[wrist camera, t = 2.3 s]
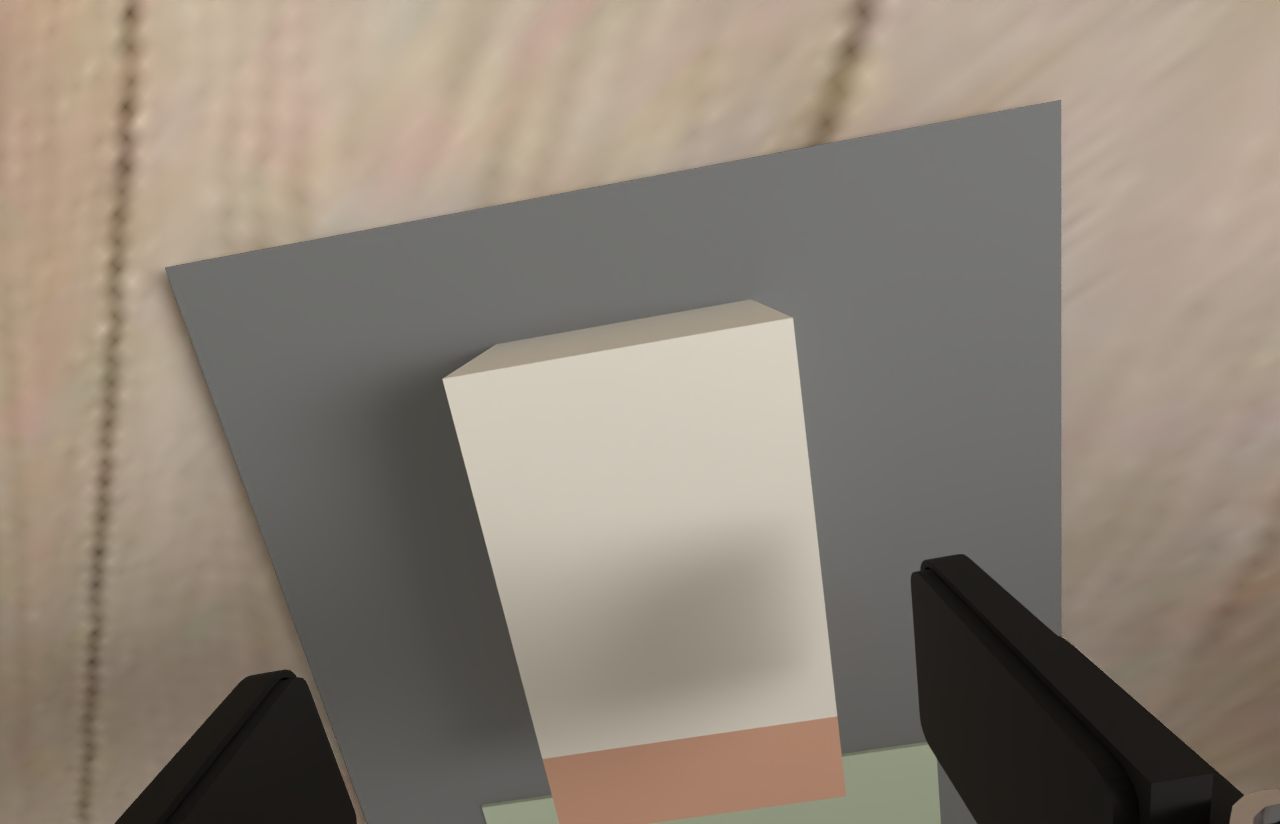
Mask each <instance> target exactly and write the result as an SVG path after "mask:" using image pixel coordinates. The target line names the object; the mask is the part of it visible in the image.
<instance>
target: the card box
mask: <svg viewBox="0 0 1280 824" xmlns="http://www.w3.org/2000/svg"><path fill="white" fill-rule="evenodd" d="M442 380H443V383H444V387H445V391H446V395H447V399H448V402H449V406H450V410H451V414H452V418H453V421H454V425H455V429H456V433H457V437H458V440H459V444H460V448H461V452H462V456H463V459H464V463H465V467H466V471H467V475H468V478H469V482H470V486H471V490H472V493H473V497H474V501H475V505H476V509H477V512H478V516H479V520H480V524H481V528H482V531H483V535H484V539H485V543H486V547H487V550H488V554H489V558H490V562H491V566H492V569H493V573H494V577H495V581H496V585H497V588H498V592H499V596H500V600H501V604H502V607H503V611H504V615H505V619H506V623H507V626H508V630H509V634H510V638H511V642H512V645H513V649H514V653H515V657H516V661H517V664H518V668H519V672H520V676H521V680H522V683H523V687H524V691H525V695H526V699H527V702H528V706H529V710H530V714H531V718H532V721H533V725H534V729H535V733H536V737H537V740H538V744H539V748H540V752H541V756H542V759H543V763H544V767H545V771H546V775H547V778H548V782H549V786H550V790H551V794H552V797H553V801H554V805H555V809H556V813H557V816H558V820H559V824H650V823H657V822H664V821H671V820H678V819H686V818H693V817H700V816H707V815H715V814H722V813H729V812H736V811H743V810H751V809H758V808H765V807H772V806H780V805H787V804H794V803H801V802H808V801H816V800H823V799H830V798H837V797H845V796H846V790H845V781H844V772H843V763H842V754H841V745H840V736H839V727H838V718H837V709H836V700H835V691H834V682H833V673H832V664H831V655H830V646H829V637H828V628H827V619H826V610H825V601H824V592H823V583H822V574H821V565H820V556H819V547H818V538H817V529H816V520H815V511H814V502H813V493H812V484H811V475H810V466H809V457H808V448H807V439H806V430H805V421H804V412H803V403H802V394H801V385H800V376H799V367H798V358H797V349H796V340H795V331H794V322H793V317H790V316H788V315H786V314H784V313H781V312H779V311H777V310H774V309H772V308H770V307H768V306H765V305H763V304H761V303H758V302H756V301H754V300H751V299H750V300H744V301H738V302H733V303H727V304H721V305H716V306H710V307H704V308H699V309H693V310H687V311H682V312H676V313H670V314H665V315H659V316H653V317H648V318H642V319H636V320H631V321H625V322H619V323H614V324H608V325H602V326H597V327H591V328H585V329H580V330H574V331H569V332H563V333H557V334H552V335H546V336H540V337H535V338H529V339H523V340H518V341H512V342H506V343H501V344H496V345H494V346H493V347H491V348H490V349H488V350H486V351H485V352H483V353H482V354H480V355H479V356H477V357H476V358H474V359H472V360H471V361H469V362H468V363H466V364H465V365H463V366H462V367H460V368H459V369H457V370H455V371H454V372H452V373H451V374H449V375H448V376H446V377H445V378H443V379H442Z"/></svg>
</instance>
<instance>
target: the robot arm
mask: <svg viewBox="0 0 1280 824" xmlns="http://www.w3.org/2000/svg"><path fill="white" fill-rule="evenodd" d="M911 595H912V610H913V624H914V639H915V654H916V668H917V683H918V698H919V712H920V722H921V726H922V730H923V733H924V736H925V738H926V741H927V743H928V745H929V747H930V748H931V750H932V752H933V753H934V755H935V757H936V758H937V760H938V761H939V763H940V765H941V766H942V768H943V769H944V771H945V773H946V774H947V776H948V777H949V779H950V781H951V782H952V784H953V785H954V787H955V789H956V790H957V792H958V794H959V795H960V797H961V798H962V800H963V802H964V803H965V805H966V806H967V808H968V810H969V811H970V813H971V814H972V816H973V818H974V819H975V821H976V823H977V824H1280V789H1265V790H1261V791H1257V792H1253V793H1249V794H1245V795H1243V794H1242V793H1241V792H1240V791H1239V790H1238V789H1236V788H1235V787H1234V786H1233V785H1232V784H1231V783H1230V782H1228V781H1227V780H1226V779H1225V778H1224V777H1223V776H1222V775H1220V774H1219V773H1218V772H1217V771H1216V770H1215V769H1214V768H1212V767H1211V766H1210V765H1209V764H1208V763H1207V762H1206V761H1204V760H1203V759H1202V758H1201V757H1200V756H1199V755H1198V754H1196V753H1195V752H1194V751H1193V750H1192V749H1191V748H1190V747H1188V746H1187V745H1186V744H1185V743H1184V742H1183V741H1182V740H1180V739H1179V738H1178V737H1177V736H1176V735H1175V734H1173V733H1172V732H1171V731H1170V730H1169V729H1168V728H1167V727H1165V726H1164V725H1163V724H1162V723H1161V722H1160V721H1159V720H1157V719H1156V718H1155V717H1154V716H1153V715H1152V714H1151V713H1149V712H1148V711H1147V710H1146V709H1145V708H1144V707H1143V706H1141V705H1140V704H1139V703H1138V702H1137V701H1136V700H1135V699H1133V698H1132V697H1131V696H1130V695H1129V694H1128V693H1127V692H1125V691H1124V690H1123V689H1122V688H1121V687H1120V686H1119V685H1117V684H1116V683H1115V682H1114V681H1113V680H1112V679H1111V678H1109V677H1108V676H1107V675H1106V674H1105V673H1104V672H1103V671H1101V670H1100V669H1099V668H1098V667H1097V666H1096V665H1095V664H1093V663H1092V662H1091V661H1090V660H1089V659H1088V658H1087V657H1085V656H1084V655H1083V654H1082V653H1081V652H1080V651H1078V650H1077V649H1076V648H1075V647H1074V646H1073V645H1072V644H1070V643H1069V642H1068V641H1066V640H1065V639H1063V638H1062V637H1060V636H1057V635H1056V634H1055V633H1054V632H1053V631H1052V630H1050V629H1049V628H1048V627H1047V626H1046V625H1045V624H1044V623H1043V622H1041V621H1040V620H1039V619H1038V618H1037V617H1036V616H1035V615H1033V614H1032V613H1031V612H1030V611H1029V610H1028V609H1027V608H1026V607H1024V606H1023V605H1022V604H1021V603H1020V602H1019V601H1018V600H1016V599H1015V598H1014V597H1013V596H1012V595H1011V594H1010V593H1009V592H1007V591H1006V590H1005V589H1004V588H1003V587H1002V586H1001V585H999V584H998V583H997V582H996V581H995V580H994V579H993V578H992V577H990V576H989V575H988V574H987V573H986V572H985V571H984V570H982V569H981V568H980V567H979V566H978V565H977V564H976V563H974V562H973V561H972V560H971V559H970V558H969V557H967V556H966V555H964V554H956V555H950V556H944V557H939V558H933V559H927V560H924V561H923V562H922V564H921V567H920V571H916V572H913V573H912V575H911ZM115 824H357V822H356V814H355V811H354V808H353V805H352V802H351V800H350V797H349V794H348V792H347V789H346V786H345V784H344V781H343V778H342V776H341V773H340V770H339V768H338V765H337V762H336V760H335V757H334V754H333V751H332V749H331V746H330V743H329V741H328V738H327V735H326V733H325V730H324V727H323V725H322V722H321V719H320V717H319V714H318V711H317V708H316V706H315V703H314V700H313V698H312V695H311V692H310V690H309V687H308V685H307V683H306V681H305V680H304V679H303V678H299V677H298V678H297V677H296V675H295V674H294V673H293V672H292V671H290V670H280V671H275V672H269V673H263V674H257V675H252V676H248V677H246V678H244V679H243V680H242V681H241V682H240V683H239V684H238V685H237V686H236V687H235V688H234V690H233V691H232V692H231V693H230V694H229V695H228V696H227V697H226V699H225V700H224V701H223V702H222V703H221V704H220V705H219V706H218V708H217V709H216V710H215V711H214V712H213V713H212V714H211V716H210V717H209V718H208V719H207V720H206V721H205V722H204V723H203V725H202V726H201V727H200V728H199V729H198V730H197V731H196V732H195V734H194V735H193V736H192V737H191V738H190V739H189V740H188V741H187V743H186V744H185V745H184V746H183V747H182V748H181V749H180V750H179V752H178V753H177V754H176V755H175V756H174V757H173V758H172V759H171V761H170V762H169V763H168V764H167V765H166V766H165V767H164V768H163V770H162V771H161V772H160V773H159V774H158V775H157V776H156V777H155V779H154V780H153V781H152V782H151V783H150V784H149V785H148V786H147V788H146V789H145V790H144V791H143V792H142V793H141V794H140V795H139V797H138V798H137V799H136V800H135V801H134V802H133V803H132V804H131V806H130V807H129V808H128V809H127V810H126V811H125V812H124V813H123V815H122V816H121V817H120V818H119V819H118V820H117V821H116V823H115Z"/></svg>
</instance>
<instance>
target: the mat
mask: <svg viewBox="0 0 1280 824" xmlns="http://www.w3.org/2000/svg"><path fill="white" fill-rule="evenodd" d="M165 270H166V273H167V276H168V278H169V281H170V284H171V287H172V289H173V292H174V295H175V298H176V300H177V303H178V306H179V309H180V311H181V314H182V317H183V319H184V322H185V325H186V328H187V330H188V333H189V336H190V339H191V341H192V344H193V347H194V350H195V352H196V355H197V358H198V361H199V363H200V366H201V369H202V372H203V374H204V377H205V380H206V383H207V385H208V388H209V391H210V394H211V396H212V399H213V402H214V405H215V407H216V410H217V413H218V416H219V418H220V421H221V424H222V427H223V429H224V432H225V435H226V438H227V440H228V443H229V446H230V449H231V451H232V454H233V457H234V460H235V462H236V465H237V468H238V471H239V473H240V476H241V479H242V482H243V484H244V487H245V490H246V492H247V495H248V498H249V501H250V503H251V506H252V509H253V512H254V514H255V517H256V520H257V523H258V525H259V528H260V531H261V534H262V536H263V539H264V542H265V545H266V547H267V550H268V553H269V556H270V558H271V561H272V564H273V567H274V569H275V572H276V575H277V578H278V580H279V583H280V586H281V589H282V591H283V594H284V597H285V600H286V602H287V605H288V608H289V611H290V613H291V616H292V619H293V622H294V624H295V627H296V630H297V633H298V635H299V638H300V641H301V644H302V646H303V649H304V652H305V655H306V657H307V660H308V663H309V665H310V668H311V671H312V674H313V676H314V679H315V682H316V685H317V687H318V690H319V693H320V696H321V698H322V701H323V704H324V707H325V709H326V712H327V715H328V718H329V720H330V723H331V726H332V729H333V731H334V734H335V737H336V740H337V742H338V745H339V748H340V751H341V753H342V756H343V759H344V762H345V764H346V767H347V770H348V773H349V775H350V778H351V781H352V784H353V786H354V789H355V792H356V795H357V797H358V800H359V803H360V806H361V808H362V811H363V814H364V817H365V819H366V822H367V824H559V820H558V816H557V813H556V809H555V805H554V801H553V797H552V794H551V790H550V786H549V782H548V778H547V775H546V771H545V767H544V763H543V759H542V756H541V752H540V748H539V744H538V740H537V737H536V733H535V729H534V725H533V721H532V718H531V714H530V710H529V706H528V702H527V699H526V695H525V691H524V687H523V683H522V680H521V676H520V672H519V668H518V664H517V661H516V657H515V653H514V649H513V645H512V642H511V638H510V634H509V630H508V626H507V623H506V619H505V615H504V611H503V607H502V604H501V600H500V596H499V592H498V588H497V585H496V581H495V577H494V573H493V569H492V566H491V562H490V558H489V554H488V550H487V547H486V543H485V539H484V535H483V531H482V528H481V524H480V520H479V516H478V512H477V509H476V505H475V501H474V497H473V493H472V490H471V486H470V482H469V478H468V475H467V471H466V467H465V463H464V459H463V456H462V452H461V448H460V444H459V440H458V437H457V433H456V429H455V425H454V421H453V418H452V414H451V410H450V406H449V402H448V399H447V395H446V391H445V387H444V383H443V380H442V379H443V378H445V377H446V376H448V375H449V374H451V373H452V372H454V371H455V370H457V369H459V368H460V367H462V366H463V365H465V364H466V363H468V362H469V361H471V360H472V359H474V358H476V357H477V356H479V355H480V354H482V353H483V352H485V351H486V350H488V349H490V348H491V347H493V346H494V345H496V344H501V343H506V342H512V341H518V340H523V339H529V338H535V337H540V336H546V335H552V334H557V333H563V332H569V331H574V330H580V329H585V328H591V327H597V326H602V325H608V324H614V323H619V322H625V321H631V320H636V319H642V318H648V317H653V316H659V315H665V314H670V313H676V312H682V311H687V310H693V309H699V308H704V307H710V306H716V305H721V304H727V303H733V302H738V301H744V300H750V299H751V300H754V301H756V302H758V303H761V304H763V305H765V306H768V307H770V308H772V309H774V310H777V311H779V312H781V313H784V314H786V315H788V316H790V317H793V322H794V331H795V340H796V349H797V358H798V367H799V376H800V385H801V394H802V403H803V412H804V421H805V430H806V439H807V448H808V457H809V466H810V475H811V484H812V493H813V502H814V511H815V520H816V529H817V538H818V547H819V556H820V565H821V574H822V583H823V592H824V601H825V610H826V619H827V628H828V637H829V646H830V655H831V664H832V673H833V682H834V691H835V700H836V709H837V718H838V727H839V736H840V745H841V754H842V763H843V772H844V781H845V790H846V796H845V797H837V798H830V799H823V800H816V801H808V802H801V803H794V804H787V805H780V806H772V807H765V808H758V809H751V810H743V811H736V812H729V813H722V814H715V815H707V816H700V817H693V818H686V819H678V820H671V821H664V822H657V823H650V824H977V823H976V821H975V819H974V818H973V816H972V814H971V813H970V811H969V810H968V808H967V806H966V805H965V803H964V802H963V800H962V798H961V797H960V795H959V794H958V792H957V790H956V789H955V787H954V785H953V784H952V782H951V781H950V779H949V777H948V776H947V774H946V773H945V771H944V769H943V768H942V766H941V765H940V763H939V761H938V760H937V758H936V757H935V755H934V753H933V752H932V750H931V748H930V747H929V745H928V743H927V741H926V738H925V736H924V733H923V730H922V726H921V722H920V712H919V698H918V683H917V668H916V654H915V639H914V624H913V610H912V595H911V575H912V573H913V572H916V571H920V567H921V564H922V562H923V561H924V560H927V559H933V558H939V557H944V556H950V555H956V554H964V555H966V556H967V557H969V558H970V559H971V560H972V561H973V562H974V563H976V564H977V565H978V566H979V567H980V568H981V569H982V570H984V571H985V572H986V573H987V574H988V575H989V576H990V577H992V578H993V579H994V580H995V581H996V582H997V583H998V584H999V585H1001V586H1002V587H1003V588H1004V589H1005V590H1006V591H1007V592H1009V593H1010V594H1011V595H1012V596H1013V597H1014V598H1015V599H1016V600H1018V601H1019V602H1020V603H1021V604H1022V605H1023V606H1024V607H1026V608H1027V609H1028V610H1029V611H1030V612H1031V613H1032V614H1033V615H1035V616H1036V617H1037V618H1038V619H1039V620H1040V621H1041V622H1043V623H1044V624H1045V625H1046V626H1047V627H1048V628H1049V629H1050V630H1052V631H1053V632H1054V633H1055V634H1056V635H1057V636H1060V637H1061V100H1058V101H1052V102H1047V103H1042V104H1036V105H1031V106H1026V107H1020V108H1015V109H1010V110H1004V111H999V112H994V113H988V114H983V115H978V116H972V117H967V118H961V119H956V120H951V121H945V122H940V123H935V124H929V125H924V126H919V127H913V128H908V129H903V130H897V131H892V132H887V133H881V134H876V135H871V136H865V137H860V138H855V139H849V140H844V141H839V142H833V143H828V144H823V145H817V146H812V147H807V148H801V149H796V150H791V151H785V152H780V153H775V154H769V155H764V156H759V157H753V158H748V159H743V160H737V161H732V162H727V163H721V164H716V165H711V166H705V167H700V168H694V169H689V170H684V171H678V172H673V173H668V174H662V175H657V176H652V177H646V178H641V179H636V180H630V181H625V182H620V183H614V184H609V185H604V186H598V187H593V188H588V189H582V190H577V191H572V192H566V193H561V194H556V195H550V196H545V197H540V198H534V199H529V200H524V201H518V202H513V203H508V204H502V205H497V206H492V207H486V208H481V209H476V210H470V211H465V212H460V213H454V214H449V215H443V216H438V217H433V218H427V219H422V220H417V221H411V222H406V223H401V224H395V225H390V226H385V227H379V228H374V229H369V230H363V231H358V232H353V233H347V234H342V235H337V236H331V237H326V238H321V239H315V240H310V241H305V242H299V243H294V244H289V245H283V246H278V247H273V248H267V249H262V250H257V251H251V252H246V253H241V254H235V255H230V256H225V257H219V258H214V259H209V260H203V261H198V262H192V263H187V264H182V265H176V266H171V267H166V268H165Z"/></svg>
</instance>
